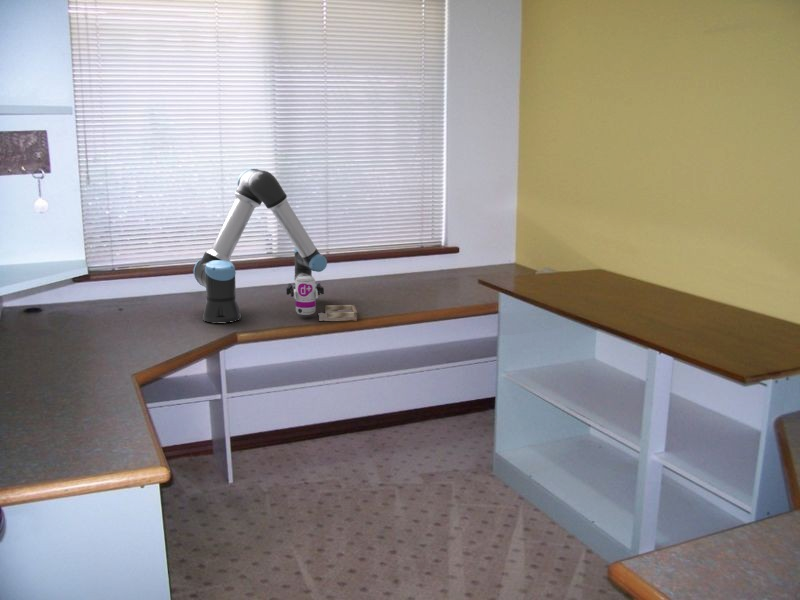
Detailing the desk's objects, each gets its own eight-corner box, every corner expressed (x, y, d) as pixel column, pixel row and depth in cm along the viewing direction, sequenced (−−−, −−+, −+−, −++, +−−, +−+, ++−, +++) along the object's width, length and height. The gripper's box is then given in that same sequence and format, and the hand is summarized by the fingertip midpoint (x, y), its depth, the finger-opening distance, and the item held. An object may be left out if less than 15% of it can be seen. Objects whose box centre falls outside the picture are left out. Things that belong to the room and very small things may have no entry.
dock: (318, 322, 307) (318, 313, 306) (317, 312, 321) (317, 305, 320) (358, 321, 309) (358, 313, 308) (354, 312, 324) (354, 304, 323)
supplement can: (314, 315, 309) (314, 279, 305) (294, 315, 309) (293, 279, 306) (316, 310, 317) (316, 275, 313) (297, 310, 317) (296, 275, 313)
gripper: (328, 291, 331) (331, 303, 309) (279, 292, 327) (280, 304, 306) (328, 274, 329) (331, 286, 307) (279, 275, 326) (279, 286, 304)
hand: (305, 295), depth 306 cm, fingers closed on supplement can, 8 cm apart
